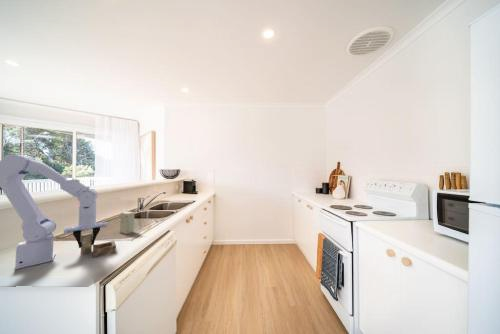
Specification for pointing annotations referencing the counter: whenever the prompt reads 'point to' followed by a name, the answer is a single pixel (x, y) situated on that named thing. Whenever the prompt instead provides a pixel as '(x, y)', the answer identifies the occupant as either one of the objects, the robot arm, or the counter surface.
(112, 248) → the walnut holder
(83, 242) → the beech peg
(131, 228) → the skincare box
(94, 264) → the counter surface
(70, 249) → the counter surface
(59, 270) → the counter surface
